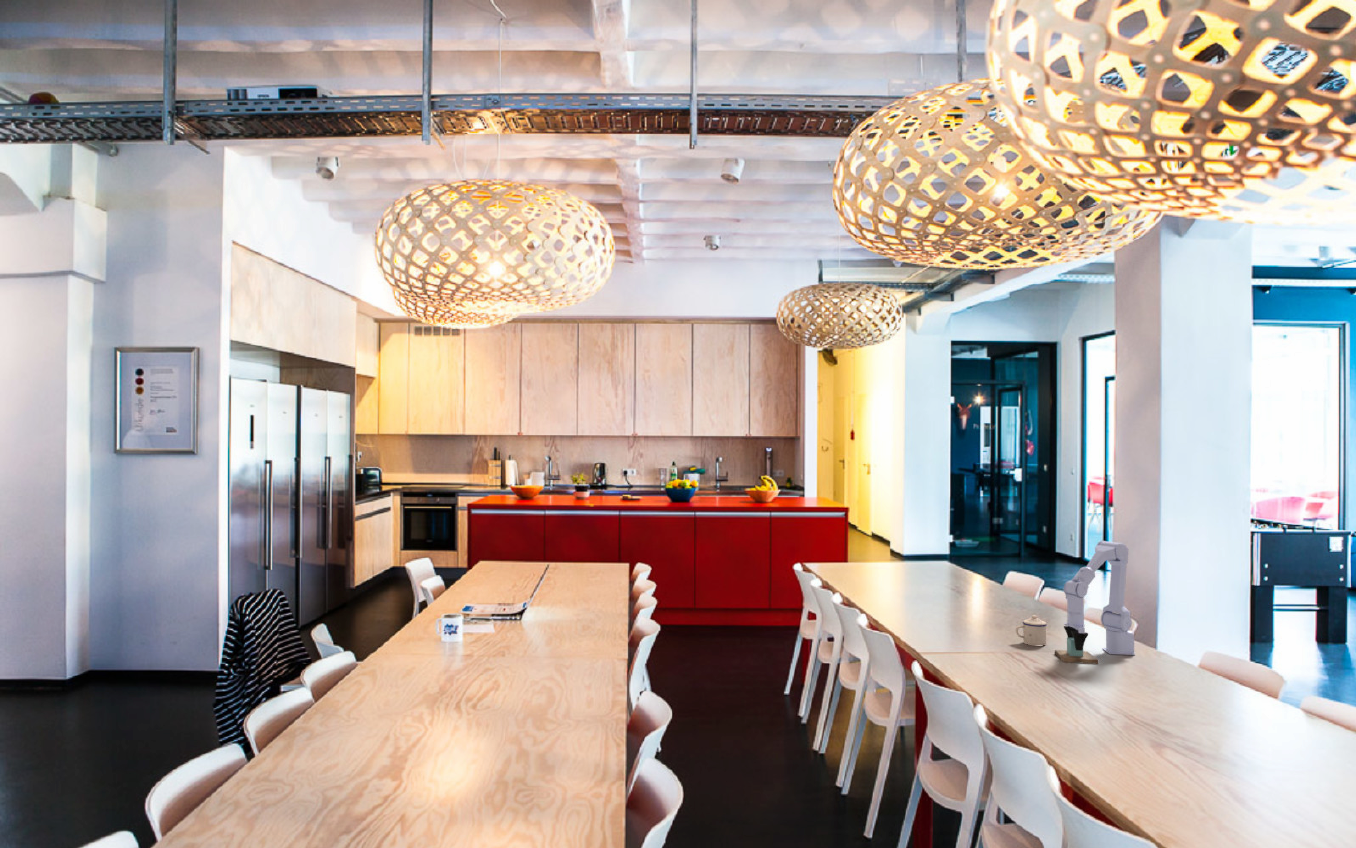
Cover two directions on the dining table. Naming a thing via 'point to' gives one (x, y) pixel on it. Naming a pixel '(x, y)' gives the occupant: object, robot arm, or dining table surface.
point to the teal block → (1073, 648)
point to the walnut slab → (1076, 657)
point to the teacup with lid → (1033, 631)
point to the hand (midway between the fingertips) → (1075, 647)
